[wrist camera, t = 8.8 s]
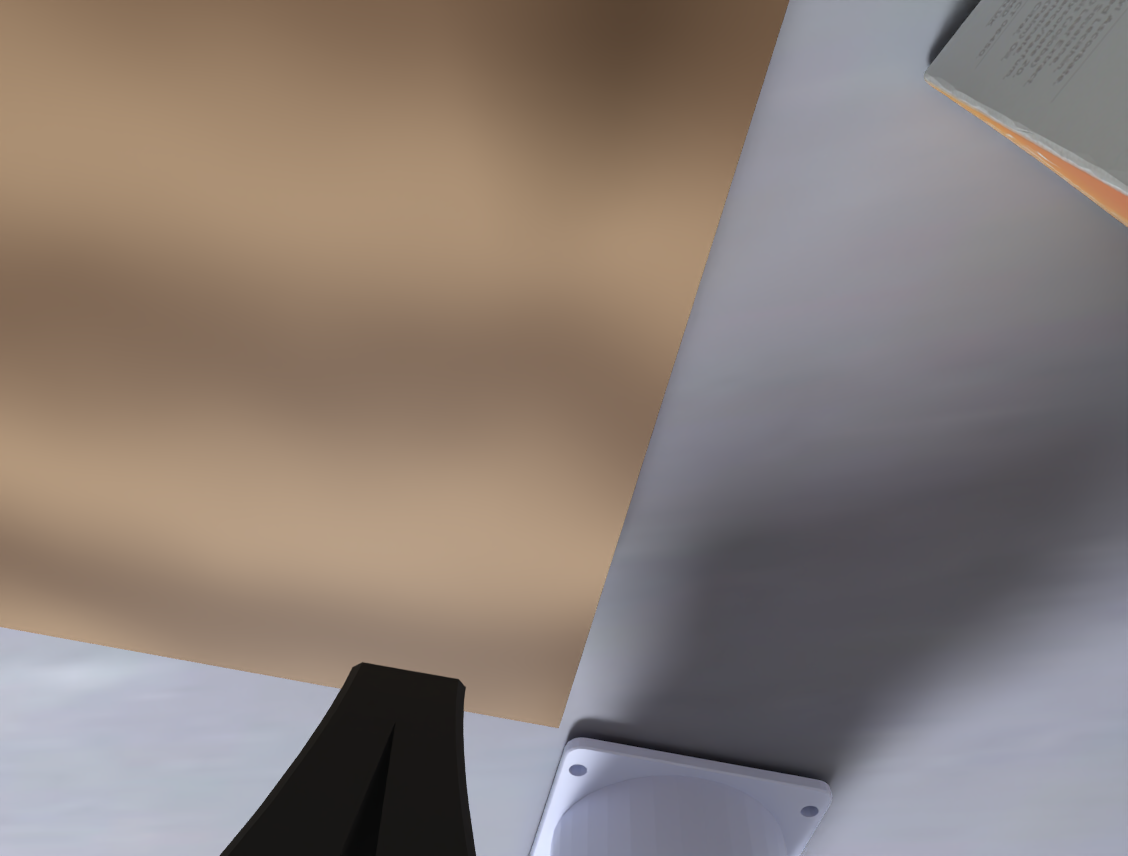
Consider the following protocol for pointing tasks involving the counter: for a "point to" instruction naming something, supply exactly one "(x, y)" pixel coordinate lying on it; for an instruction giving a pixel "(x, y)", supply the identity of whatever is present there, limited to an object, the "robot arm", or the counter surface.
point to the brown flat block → (349, 319)
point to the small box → (1049, 86)
